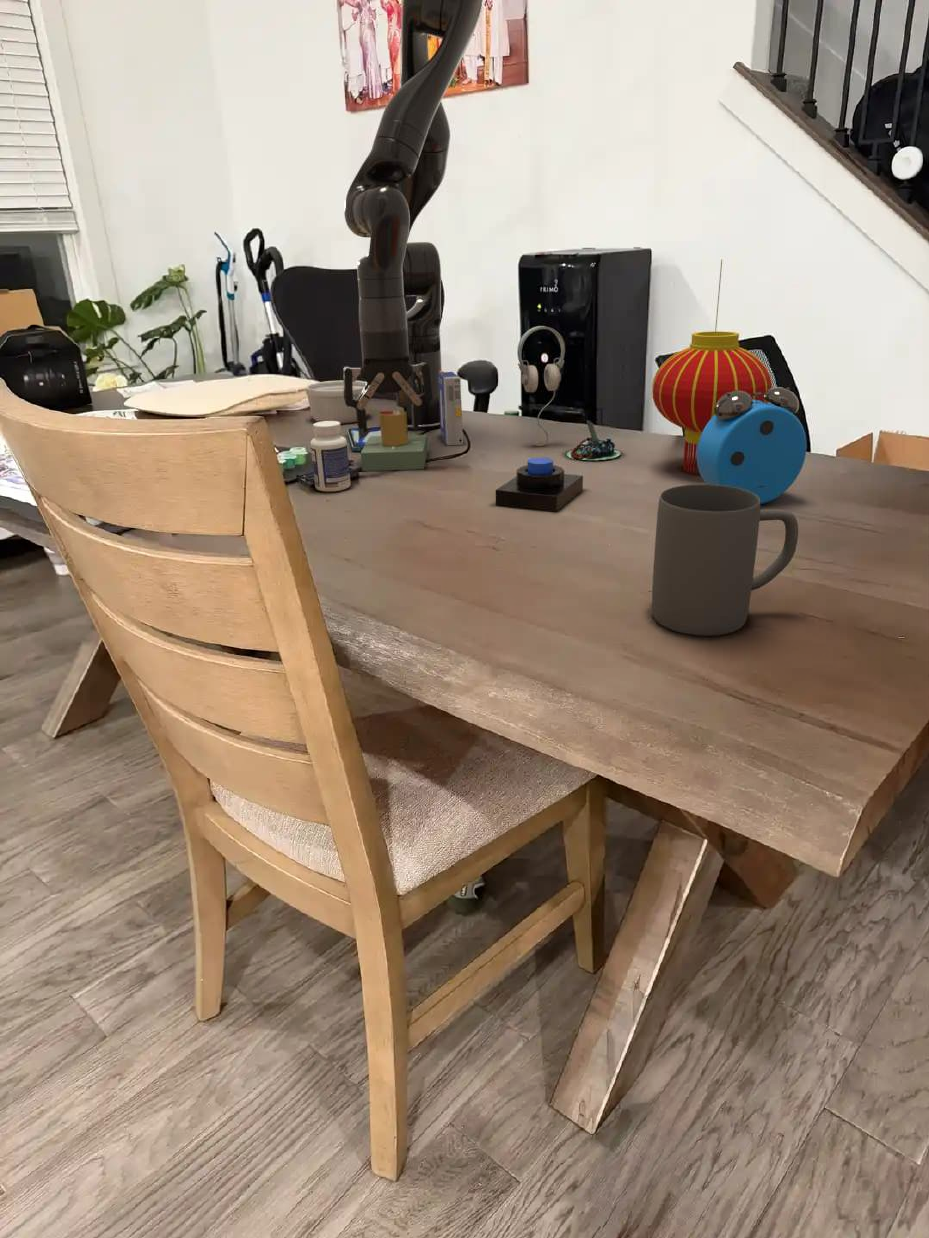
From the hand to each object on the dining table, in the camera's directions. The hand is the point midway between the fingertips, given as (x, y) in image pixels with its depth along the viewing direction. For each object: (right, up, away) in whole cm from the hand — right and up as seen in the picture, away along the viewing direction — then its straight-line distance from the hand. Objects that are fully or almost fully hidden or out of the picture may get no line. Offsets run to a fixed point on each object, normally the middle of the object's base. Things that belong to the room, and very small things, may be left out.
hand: (390, 429), depth 140 cm
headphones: (+26, -1, +8) cm, 27 cm away
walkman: (+10, +1, +15) cm, 18 cm away
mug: (+37, -31, -58) cm, 76 cm away
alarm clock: (+51, -15, -25) cm, 59 cm away
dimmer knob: (+1, -2, +1) cm, 2 cm away
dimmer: (+1, -5, +2) cm, 5 cm away
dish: (+34, -4, +2) cm, 34 cm away
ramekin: (-13, +10, +36) cm, 40 cm away
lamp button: (+23, -11, -22) cm, 33 cm away
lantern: (+49, -8, -9) cm, 51 cm away
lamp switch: (+23, -14, -20) cm, 34 cm away
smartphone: (-5, +1, +16) cm, 17 cm away
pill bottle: (-8, -12, -12) cm, 18 cm away
